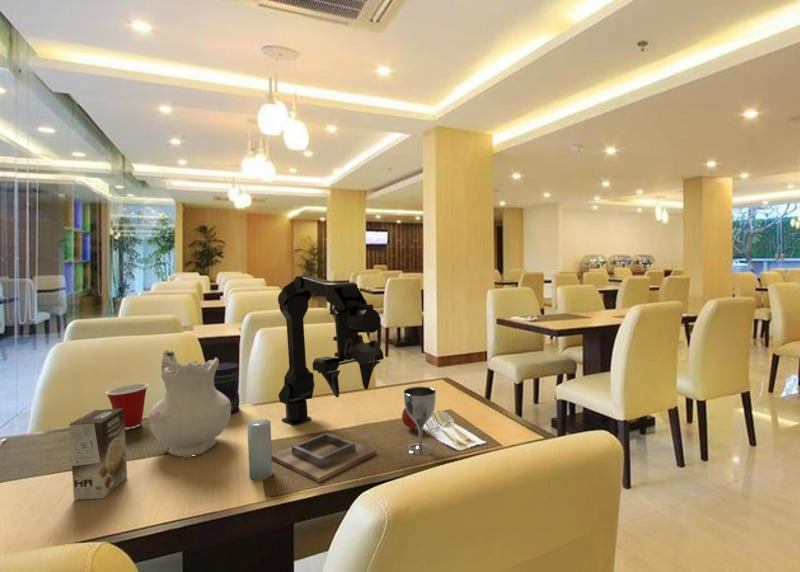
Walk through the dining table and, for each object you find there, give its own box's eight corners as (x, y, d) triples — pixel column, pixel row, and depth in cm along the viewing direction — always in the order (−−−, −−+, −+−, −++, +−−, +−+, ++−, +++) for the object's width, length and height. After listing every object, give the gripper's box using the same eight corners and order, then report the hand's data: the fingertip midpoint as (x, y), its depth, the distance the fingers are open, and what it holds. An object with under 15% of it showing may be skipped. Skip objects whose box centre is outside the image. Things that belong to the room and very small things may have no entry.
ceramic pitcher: (128, 459, 114) (115, 364, 110) (188, 425, 132) (179, 343, 128) (195, 472, 106) (184, 370, 103) (249, 434, 125) (241, 347, 121)
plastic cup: (135, 418, 140) (133, 380, 139) (158, 423, 135) (156, 384, 135) (99, 430, 130) (96, 390, 130) (122, 436, 126) (120, 394, 125)
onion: (420, 433, 124) (420, 405, 123) (400, 432, 125) (399, 404, 124) (424, 426, 129) (423, 398, 129) (404, 424, 131) (403, 397, 130)
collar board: (271, 459, 110) (271, 447, 109) (328, 436, 123) (328, 425, 123) (318, 482, 98) (318, 469, 98) (376, 454, 112) (375, 442, 111)
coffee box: (105, 498, 93) (100, 422, 92) (72, 500, 92) (67, 424, 91) (128, 477, 102) (124, 407, 101) (98, 478, 102) (94, 409, 101)
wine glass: (439, 444, 116) (439, 387, 115) (431, 458, 109) (430, 397, 108) (410, 441, 119) (409, 385, 118) (400, 454, 111) (399, 394, 110)
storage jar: (245, 407, 148) (244, 362, 147) (228, 418, 139) (226, 370, 138) (218, 406, 150) (216, 362, 149) (200, 416, 141) (197, 369, 140)
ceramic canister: (245, 476, 102) (242, 424, 101) (264, 467, 105) (262, 417, 105) (257, 482, 98) (255, 429, 98) (277, 474, 102) (275, 422, 101)
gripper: (335, 338, 102) (340, 406, 102) (395, 327, 115) (400, 388, 115) (309, 336, 110) (314, 399, 111) (367, 327, 123) (372, 384, 123)
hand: (352, 392), depth 115 cm, fingers open, 9 cm apart
